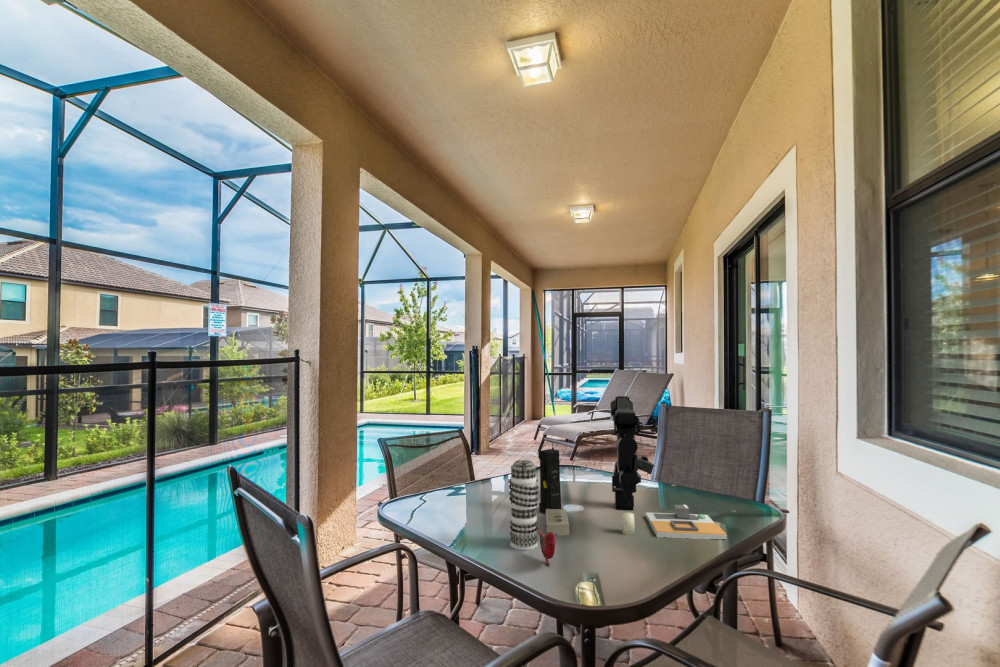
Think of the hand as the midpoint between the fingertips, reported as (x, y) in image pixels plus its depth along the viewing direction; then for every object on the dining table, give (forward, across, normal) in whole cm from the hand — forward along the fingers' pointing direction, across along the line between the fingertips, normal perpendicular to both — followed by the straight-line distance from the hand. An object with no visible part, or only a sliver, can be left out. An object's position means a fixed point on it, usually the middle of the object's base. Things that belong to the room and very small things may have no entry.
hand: (627, 498), depth 150 cm
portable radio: (+11, +18, +26) cm, 34 cm away
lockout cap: (+11, 0, 0) cm, 11 cm away
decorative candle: (+11, -14, +33) cm, 38 cm away
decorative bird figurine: (+11, -25, +26) cm, 38 cm away
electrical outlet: (+12, +4, +23) cm, 26 cm away
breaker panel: (+11, +7, -19) cm, 23 cm away
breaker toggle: (+9, +13, -20) cm, 26 cm away
